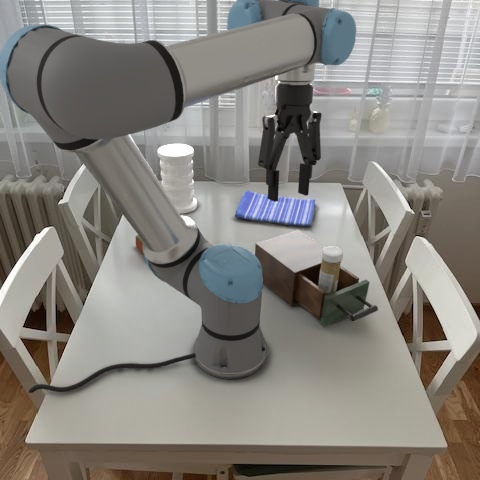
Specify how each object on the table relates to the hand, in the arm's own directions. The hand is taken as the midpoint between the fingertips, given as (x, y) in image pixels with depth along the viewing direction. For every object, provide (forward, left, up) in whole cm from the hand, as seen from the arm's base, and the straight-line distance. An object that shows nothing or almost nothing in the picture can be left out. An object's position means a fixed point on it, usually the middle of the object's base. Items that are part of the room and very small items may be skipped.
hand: (288, 196), depth 108 cm
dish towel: (+24, +34, -24) cm, 48 cm away
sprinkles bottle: (+4, -12, -22) cm, 26 cm away
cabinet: (+4, 0, -24) cm, 24 cm away
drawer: (+4, -15, -23) cm, 28 cm away
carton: (-15, +32, -24) cm, 43 cm away
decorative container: (0, +54, -24) cm, 59 cm away
